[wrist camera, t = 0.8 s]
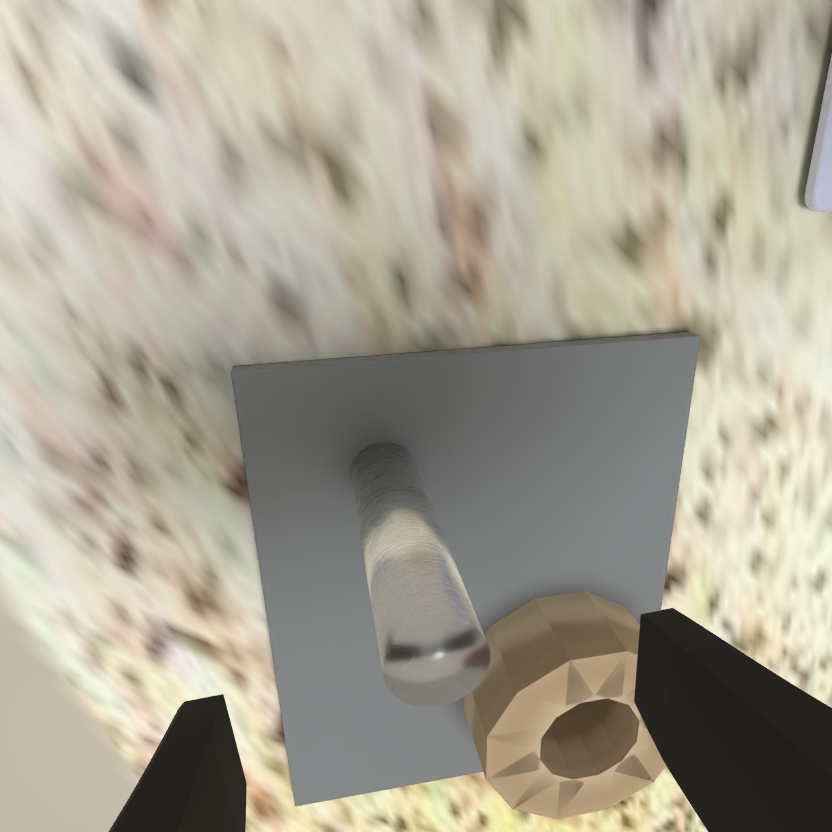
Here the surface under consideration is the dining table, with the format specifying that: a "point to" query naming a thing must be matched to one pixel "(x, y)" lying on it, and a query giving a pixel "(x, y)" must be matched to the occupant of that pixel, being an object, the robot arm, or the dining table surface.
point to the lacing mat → (451, 518)
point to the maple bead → (562, 708)
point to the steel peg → (414, 584)
